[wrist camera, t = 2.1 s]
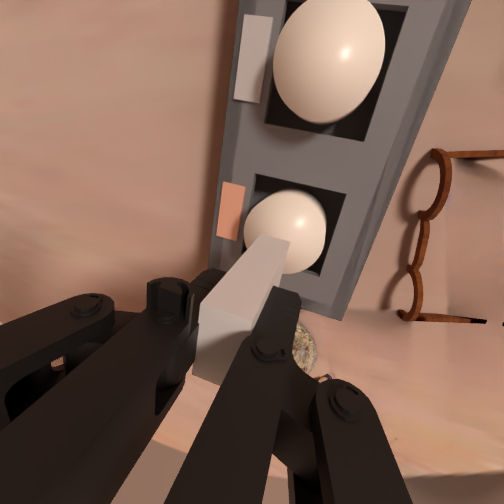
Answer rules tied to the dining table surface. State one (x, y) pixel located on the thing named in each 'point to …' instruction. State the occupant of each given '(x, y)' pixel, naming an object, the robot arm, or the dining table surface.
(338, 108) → the button middle
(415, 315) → the glasses
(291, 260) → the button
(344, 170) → the console
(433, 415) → the dining table surface
